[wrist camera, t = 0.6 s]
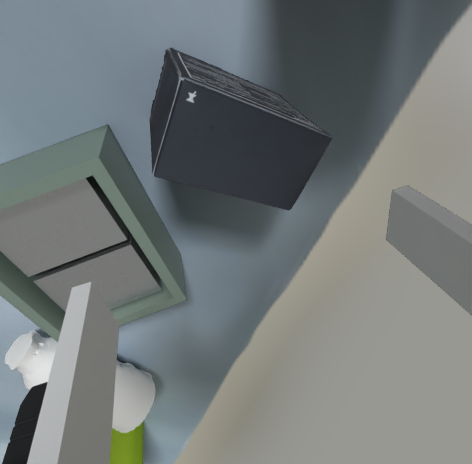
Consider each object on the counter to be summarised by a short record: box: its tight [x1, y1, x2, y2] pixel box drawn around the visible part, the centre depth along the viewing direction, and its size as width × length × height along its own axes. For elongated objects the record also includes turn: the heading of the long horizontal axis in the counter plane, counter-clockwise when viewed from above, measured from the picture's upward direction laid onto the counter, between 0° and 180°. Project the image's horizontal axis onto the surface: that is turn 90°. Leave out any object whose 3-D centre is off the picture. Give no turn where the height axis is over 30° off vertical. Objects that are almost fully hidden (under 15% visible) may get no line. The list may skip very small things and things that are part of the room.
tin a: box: [0, 175, 128, 277], centre depth 27 cm, size 9×6×5 cm
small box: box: [150, 48, 332, 210], centre depth 24 cm, size 11×6×10 cm, turn 67°
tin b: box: [33, 229, 162, 312], centre depth 31 cm, size 9×6×5 cm
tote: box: [0, 124, 187, 342], centre depth 29 cm, size 13×16×7 cm
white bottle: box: [5, 330, 155, 433], centre depth 40 cm, size 8×19×8 cm, turn 29°
